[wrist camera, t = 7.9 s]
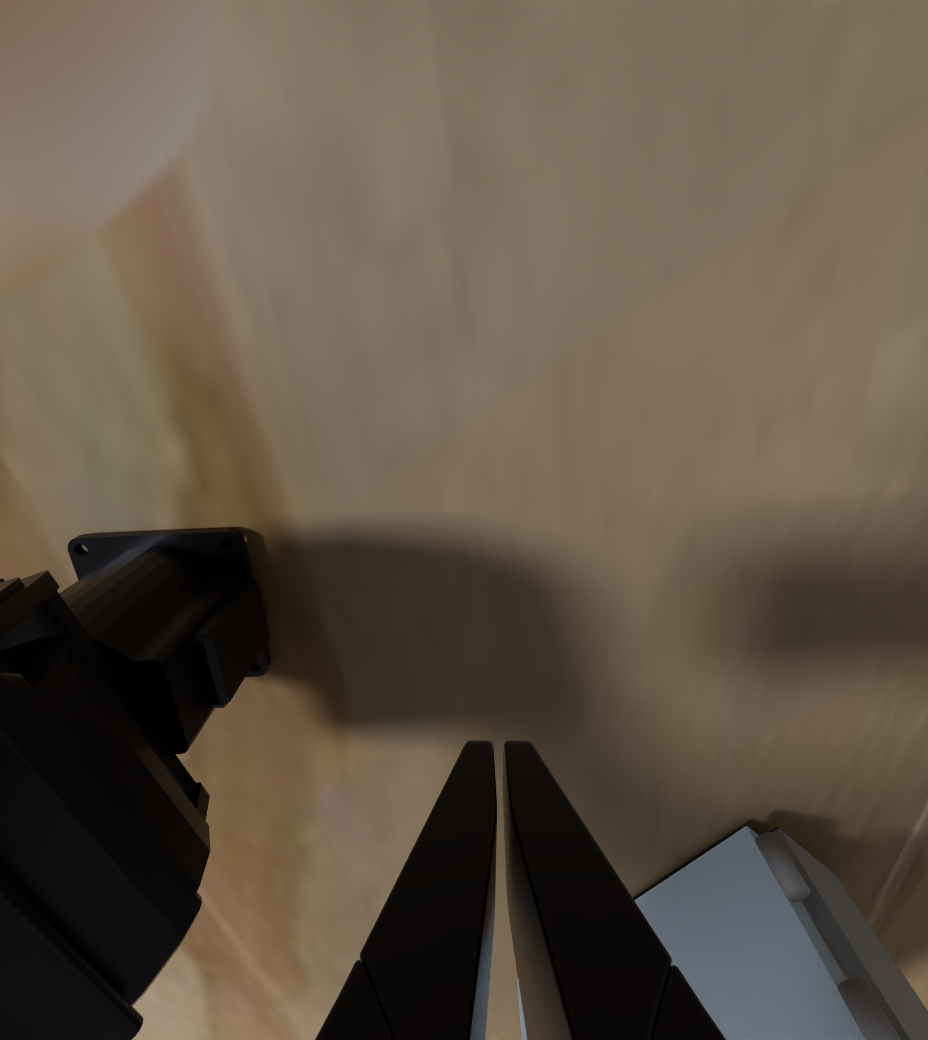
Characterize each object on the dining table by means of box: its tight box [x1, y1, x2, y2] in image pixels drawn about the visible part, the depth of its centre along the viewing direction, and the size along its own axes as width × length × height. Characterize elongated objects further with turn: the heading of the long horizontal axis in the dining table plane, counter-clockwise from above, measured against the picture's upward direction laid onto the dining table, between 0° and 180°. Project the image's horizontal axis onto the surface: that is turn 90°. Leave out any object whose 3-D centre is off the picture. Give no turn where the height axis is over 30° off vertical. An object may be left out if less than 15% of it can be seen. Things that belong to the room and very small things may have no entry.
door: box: [517, 826, 901, 1040], centre depth 22 cm, size 3×17×10 cm, turn 139°
